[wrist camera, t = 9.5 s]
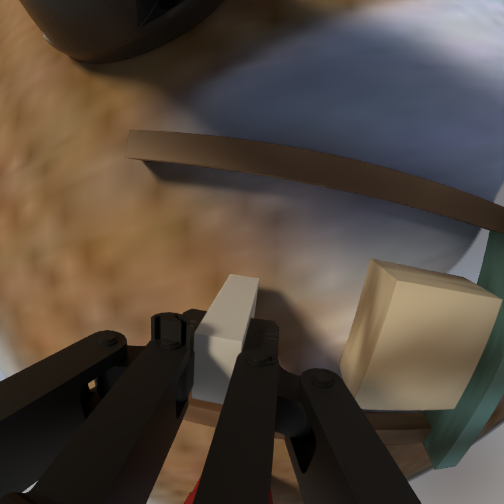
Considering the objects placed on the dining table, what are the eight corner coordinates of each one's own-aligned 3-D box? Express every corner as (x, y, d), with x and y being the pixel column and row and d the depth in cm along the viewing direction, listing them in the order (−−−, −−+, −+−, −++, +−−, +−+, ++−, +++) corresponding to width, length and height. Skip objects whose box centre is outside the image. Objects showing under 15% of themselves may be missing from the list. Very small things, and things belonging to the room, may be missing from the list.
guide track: (145, 135, 16) (99, 119, 11) (512, 215, 14) (560, 224, 10) (130, 384, 19) (99, 425, 15) (434, 425, 18) (455, 466, 13)
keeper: (369, 257, 16) (396, 280, 12) (463, 277, 16) (502, 299, 11) (338, 364, 18) (350, 408, 13) (428, 371, 17) (454, 408, 13)
